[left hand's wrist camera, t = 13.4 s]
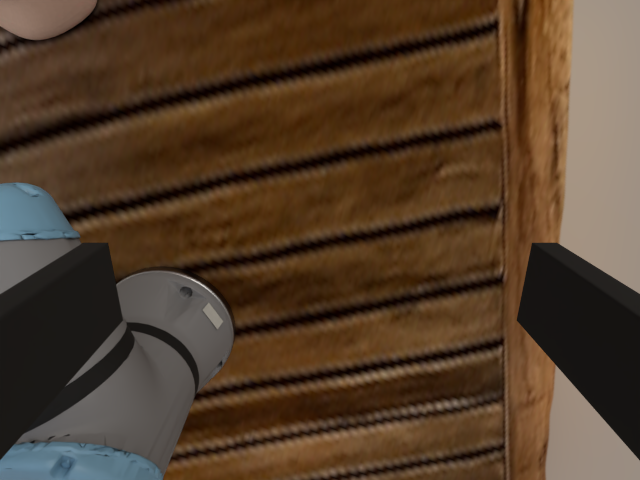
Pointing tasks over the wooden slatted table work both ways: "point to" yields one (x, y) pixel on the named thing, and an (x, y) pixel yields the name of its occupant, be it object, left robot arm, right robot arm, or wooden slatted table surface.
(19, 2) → the anatomical model
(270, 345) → the wooden slatted table surface
